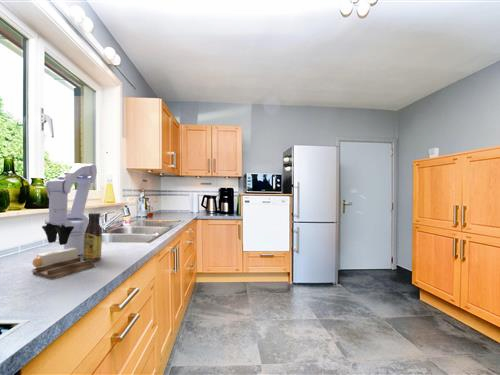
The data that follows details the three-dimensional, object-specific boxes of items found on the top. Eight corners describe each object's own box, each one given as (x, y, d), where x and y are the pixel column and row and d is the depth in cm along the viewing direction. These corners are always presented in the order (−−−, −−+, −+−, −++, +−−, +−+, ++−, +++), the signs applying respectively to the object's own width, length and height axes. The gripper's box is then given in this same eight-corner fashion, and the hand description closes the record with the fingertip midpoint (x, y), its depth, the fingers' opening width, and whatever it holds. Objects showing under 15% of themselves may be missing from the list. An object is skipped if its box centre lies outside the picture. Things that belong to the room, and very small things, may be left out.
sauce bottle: (79, 261, 97) (80, 213, 97) (94, 257, 103) (95, 212, 103) (90, 263, 94) (91, 214, 95) (105, 259, 100) (105, 212, 100)
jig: (75, 262, 96) (75, 256, 96) (94, 266, 91) (95, 260, 91) (32, 273, 83) (32, 266, 83) (52, 279, 78) (52, 271, 78)
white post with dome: (71, 259, 101) (71, 247, 101) (77, 260, 99) (77, 248, 99) (30, 269, 88) (30, 255, 88) (35, 270, 86) (35, 257, 86)
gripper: (36, 209, 94) (35, 243, 93) (57, 210, 88) (56, 247, 87) (56, 208, 100) (55, 240, 100) (77, 209, 94) (77, 243, 94)
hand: (57, 243), depth 94 cm, fingers open, 7 cm apart
